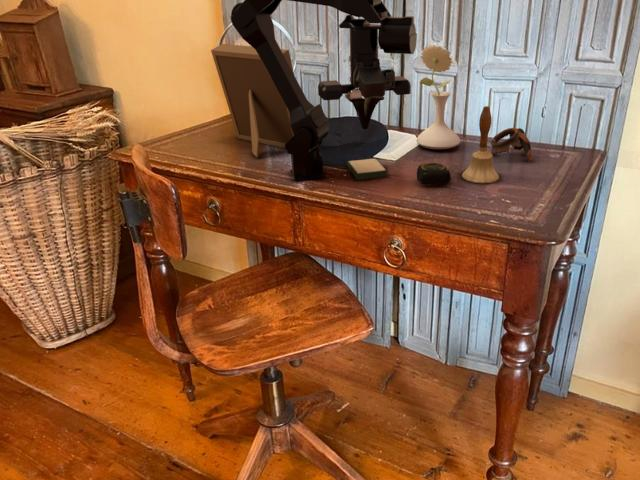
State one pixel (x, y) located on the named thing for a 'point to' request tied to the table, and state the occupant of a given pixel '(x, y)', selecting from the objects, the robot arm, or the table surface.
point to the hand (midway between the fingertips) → (364, 128)
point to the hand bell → (482, 155)
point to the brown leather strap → (512, 142)
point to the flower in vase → (437, 102)
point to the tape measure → (433, 174)
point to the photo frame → (252, 96)
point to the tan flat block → (366, 169)
